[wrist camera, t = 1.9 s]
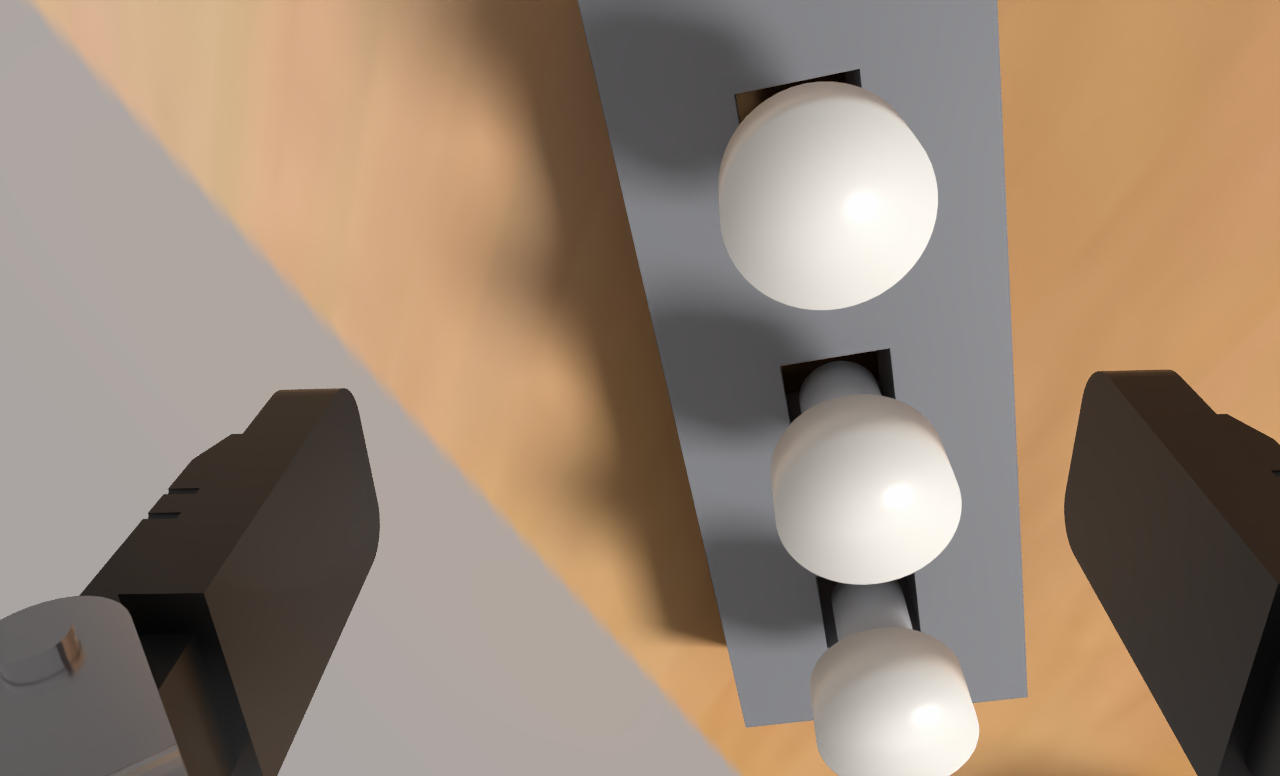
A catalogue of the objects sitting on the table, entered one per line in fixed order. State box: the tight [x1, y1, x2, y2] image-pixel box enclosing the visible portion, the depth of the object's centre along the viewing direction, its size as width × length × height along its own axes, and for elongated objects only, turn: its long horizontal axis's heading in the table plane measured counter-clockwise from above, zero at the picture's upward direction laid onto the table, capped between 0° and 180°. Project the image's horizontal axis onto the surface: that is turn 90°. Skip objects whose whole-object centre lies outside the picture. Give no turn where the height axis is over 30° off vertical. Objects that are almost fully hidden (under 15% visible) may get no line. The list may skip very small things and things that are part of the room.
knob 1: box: [718, 82, 938, 310], centre depth 24 cm, size 5×5×6 cm
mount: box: [578, 0, 1028, 727], centre depth 31 cm, size 10×26×4 cm, turn 12°
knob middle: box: [770, 361, 962, 585], centre depth 27 cm, size 5×5×6 cm
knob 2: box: [810, 580, 979, 776], centre depth 31 cm, size 5×5×6 cm
